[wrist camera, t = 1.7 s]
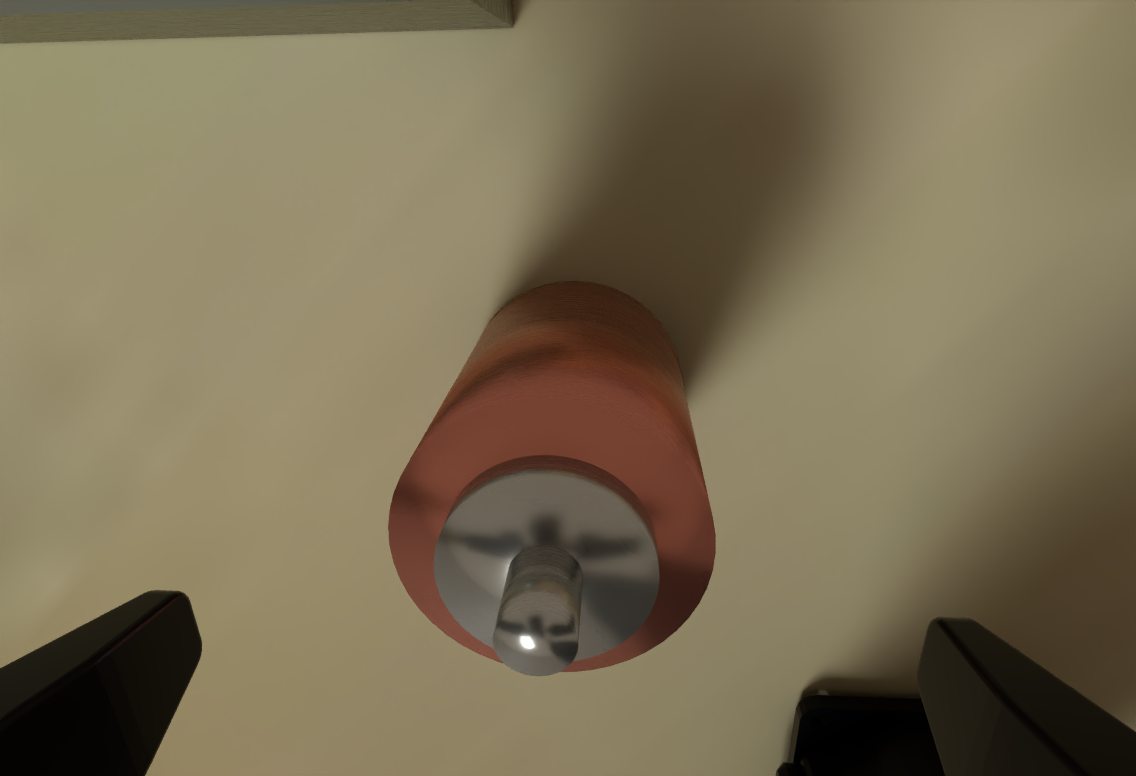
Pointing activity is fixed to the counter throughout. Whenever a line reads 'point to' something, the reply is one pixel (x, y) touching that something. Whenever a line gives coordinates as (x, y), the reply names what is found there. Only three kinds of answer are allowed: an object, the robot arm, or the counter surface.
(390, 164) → the counter surface
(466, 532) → the spout can
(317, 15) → the grey piece
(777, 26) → the counter surface
